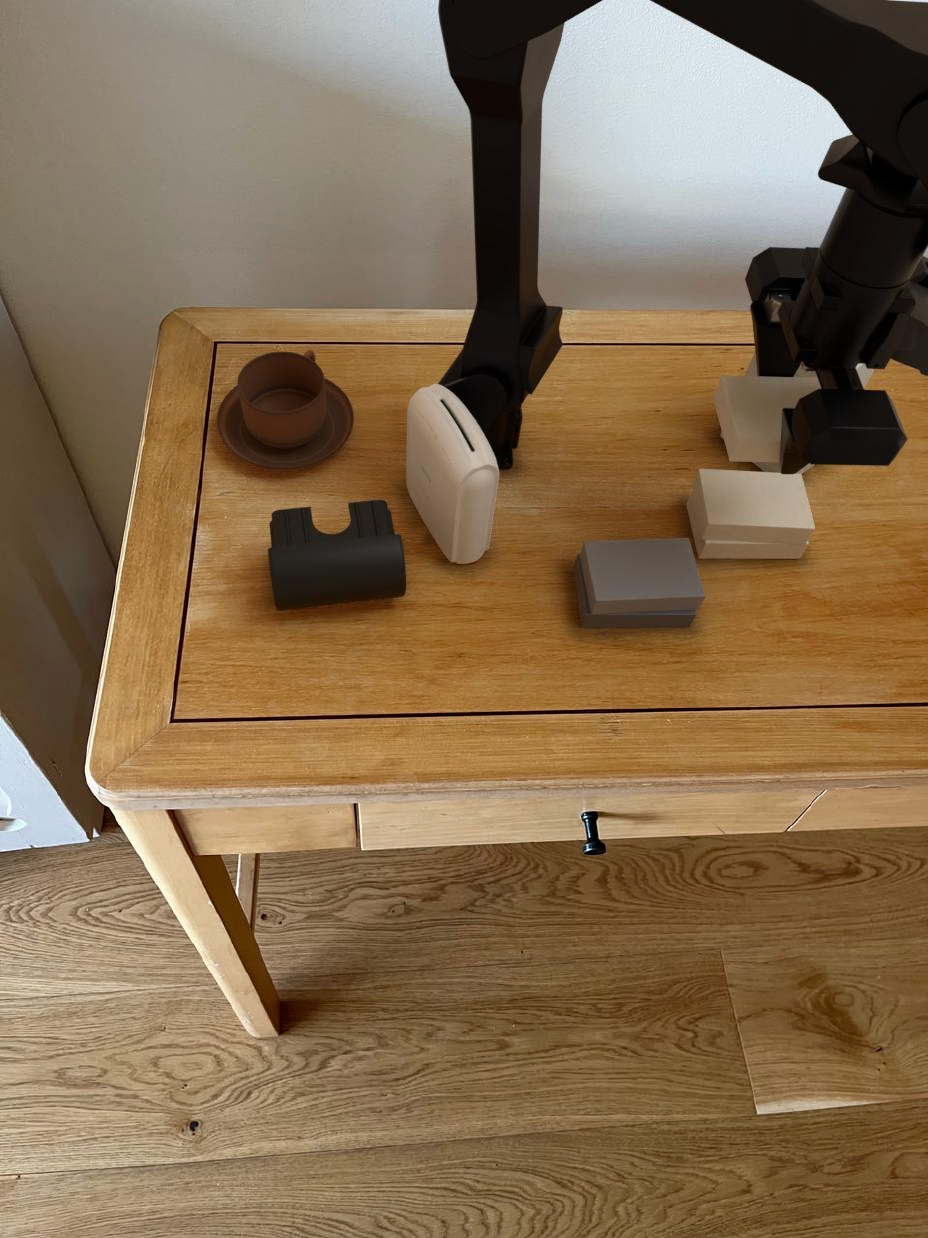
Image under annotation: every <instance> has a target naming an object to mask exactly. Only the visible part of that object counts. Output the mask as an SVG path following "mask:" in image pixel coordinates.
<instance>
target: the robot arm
mask: <svg viewBox="0 0 928 1238" xmlns="http://www.w3.org/2000/svg"><path fill="white" fill-rule="evenodd" d="M602 1H604V0H438V6H437V14H438V20H439V21H438V22H439V27H440V31H441V36H442V42H443V48H444V52H445V53H444V54H445V58H446V63H447V68H448V73H449V76H450V78H451V80H452V81H453V83H454V85H455V87H456V89H457V90H458V92H459V94H460V95H461V98H462V99H463V102H464V103H465V105H466V106H467V109H468V113H469V117H470V143H471V167H472V168H471V170H472V171H471V172H472V197H473V198H472V200H473V201H472V203H473V226H474V229H473V231H474V256H475V283H476V304H475V308H474V312H473V315H472V317H471V321H470V324H469V326H468V329H467V333H466V336H465V339H464V343H463V346H462V349H461V350H460V352H459V353H458V355H457V356H456V357H455V359H454V360H453V362H451V364H450V365H449V367H448V369H447V370H446V372H445V373H444V374H443V375H442V377H441V379H440V380H439V381H438V382H437V384H439V385H442V386H443V387H445V388H447V389H448V390H450V391H451V392H452V393H453V394H454V395H455V396H457V397H458V399H459V400H460V401H461V402H462V403H463V404H464V405H465V407H466V408H467V409H468V411H469V412H470V413H471V415H472V416H473V418H474V419H475V420H476V422H477V424H478V425H479V426H480V428H481V430H482V432H483V433H484V435H485V437H486V439H487V440H488V442H489V444H490V446H491V448H492V451H493V453H494V455H495V457H496V461H497V465H498V469H499V470H510V469H512V468H513V466H514V453H513V450H516V449H517V448H518V447H519V441H520V435H521V431H522V423H523V419H524V416H523V407H522V405H523V404H524V402H525V401H526V399H527V397H528V396H529V395H533V393H534V392H535V391H536V389H537V387H538V385H539V384H540V383H541V381H542V380H543V378H544V376H545V374H546V373H547V371H548V369H549V368H550V366H551V365H552V363H553V362H554V360H555V358H556V357H557V355H558V354H559V352H560V350H561V349H562V347H563V345H564V343H563V341H562V337H561V334H560V325H561V320H562V316H563V314H564V313H563V312H564V309H563V306H560V305H559V306H557V305H548V304H547V303H546V301H545V300H544V298H543V296H542V295H541V293H540V291H539V284H538V283H539V282H538V279H539V272H538V271H539V240H540V239H539V238H540V209H541V208H540V204H541V203H540V202H541V201H540V200H541V169H542V168H541V166H542V165H541V163H542V132H543V131H542V130H543V129H542V126H543V125H542V124H543V102H544V97H545V92H546V89H547V86H548V82H549V79H550V76H551V73H552V70H553V67H554V64H555V61H556V57H557V55H558V52H559V48H560V47H561V42H562V38H563V34H564V28H565V23H566V22H569V21H570V20H571V19H574V18H575V17H577V16H578V15H581V14H582V13H583V12H585V11H587V10H588V9H590V8H592V7H594V6H596V5H597V4H600V2H602ZM649 1H650V2H652V3H654V4H656V5H658V6H659V7H661V8H663V9H665V10H666V11H668V12H671V13H672V14H675V15H676V16H679V17H680V18H681V19H684V20H685V21H687V22H689V23H691V24H693V25H694V26H697V27H698V28H700V29H702V30H704V31H706V32H708V33H710V34H711V35H713V36H715V37H717V38H719V39H721V40H722V41H725V42H727V43H728V44H730V45H732V46H734V47H736V48H737V49H738V50H741V51H743V52H745V53H747V54H748V55H750V56H752V57H754V58H756V59H758V60H760V61H761V62H763V63H765V64H767V65H769V66H771V67H773V68H774V69H776V70H777V71H781V72H782V73H784V74H785V75H788V76H789V77H791V78H793V79H794V80H797V81H798V82H801V84H805V85H806V86H808V87H810V88H811V89H813V90H814V91H815V92H816V93H818V94H819V95H820V96H821V97H822V98H823V99H824V100H826V101H827V102H828V103H829V104H830V106H831V107H832V108H833V110H834V111H835V112H836V114H837V115H838V117H839V118H840V119H841V121H842V122H843V124H844V125H845V126H846V128H847V129H848V130H849V132H850V133H851V134H849V135H845V136H843V137H840V138H837V139H834V140H833V141H832V142H831V143H830V145H829V147H828V149H827V151H826V153H825V155H824V157H823V160H822V162H821V164H820V166H819V168H818V171H817V177H818V178H819V180H821V181H824V182H827V183H831V184H833V185H837V186H840V187H843V188H845V190H844V191H843V194H842V196H841V199H840V201H839V203H838V205H837V207H836V209H835V211H834V214H833V217H832V218H831V221H830V222H829V226H828V228H827V230H826V232H825V235H824V237H823V239H822V241H821V243H820V245H819V246H817V247H815V246H813V247H812V246H806V247H805V248H804V247H780V246H777V247H776V246H769V247H767V248H766V249H764V250H762V251H761V252H759V253H758V254H756V255H755V256H753V257H752V259H751V261H750V264H749V267H748V269H747V272H746V275H745V277H744V282H745V284H746V287H747V291H748V294H749V297H750V300H751V303H750V307H749V311H750V314H751V315H750V316H751V323H752V333H753V339H754V340H753V342H754V353H755V354H756V364H757V376H764V377H794V375H795V373H796V372H797V370H798V368H799V367H800V365H801V366H802V369H803V370H804V371H812V372H814V371H815V372H816V375H817V378H818V381H819V384H820V386H821V389H817V390H815V391H813V392H811V393H810V394H808V395H806V396H804V397H802V398H800V399H799V401H798V403H797V405H796V407H795V408H783V409H782V423H781V443H780V473H781V474H795V473H797V472H798V471H800V470H801V469H802V468H804V467H805V466H807V465H808V464H809V463H810V464H815V465H816V466H817V465H818V466H819V465H820V466H821V465H822V466H823V465H824V466H825V465H826V466H871V467H873V466H875V467H878V466H880V467H882V466H883V467H889V466H890V465H891V464H892V463H893V461H894V460H896V458H897V456H898V455H899V453H901V451H902V449H903V448H904V446H905V444H906V443H907V441H908V440H909V439H908V437H907V434H906V431H905V429H904V427H903V423H902V421H901V418H900V417H899V414H898V412H897V409H896V407H895V404H894V402H893V400H892V399H891V397H890V395H889V394H888V392H887V390H886V389H865V388H863V386H862V383H861V381H860V378H859V375H858V373H857V370H856V367H857V365H858V364H865V365H866V368H867V369H875V370H885V369H886V368H887V366H888V364H889V363H890V360H893V361H895V362H897V363H898V364H899V363H900V364H901V365H905V366H907V367H910V368H912V369H915V370H918V371H919V373H920V375H923V376H925V377H928V257H927V256H924V254H926V251H927V249H928V1H913V0H649ZM815 465H814V466H815Z"/></svg>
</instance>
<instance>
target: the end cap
mask: <svg viewBox="0 0 928 1238" xmlns="http://www.w3.org/2000/svg"><path fill="white" fill-rule="evenodd" d="M347 505H348V513H349V519H350V522H349V524H348V526H347V527H346V528H345V529H343V530H342V531H340V532H337V533H325V532H323V531H321V530H319V529H318V528H317V527H316V526H315V524H314V521H313V520H314V519H313V512H312V506H301V507H293V508H284V509H276V510H274V511H272V513H271V520H270V521H269V532H270V533H269V534H270V544H271V547H268V548H267V557H268V566H269V575H270V580H271V589H272V596H273V600H274V601H273V603H274V605H275V609H276V610H277V611H278V612H285V611H294V610H301V609H302V610H303V609H310V608H319V607H329V606H336V605H337V606H338V605H345V604H353V603H363V602H371V601H379V600H387V599H389V600H390V599H396V598H403V597H405V595H406V593H407V568H406V559H405V550H404V543H403V538H402V534H400V533H396V532H395V531H396V530H395V526H394V521H393V516H392V510H390V509H389V506H388V502H387V501H386V500H385V499H384V500H383V499H373V500H372V499H371V500H361V501H352V502H348V503H347Z"/></svg>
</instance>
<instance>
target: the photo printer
mask: <svg viewBox="0 0 928 1238" xmlns="http://www.w3.org/2000/svg"><path fill="white" fill-rule="evenodd" d="M406 413H407V414H406V417H407V418H406V448H405V449H406V454H405V456H406V457H405V460H406V462H405V483H406V489H407V493H408V495H409V497H410V498H411V501H412V503H413V506H414V507H415V508H416V510H417V512H418V514H419V516H420V518H421V520H422V521H423V524H424V525H425V527H426V528H427V530H428V531H429V533H430V535H431V536H432V538H433V540H434V541H435V542H436V544H437V546H438V547H439V549H440V551H441V552H442V553H443V555H444V556H445V558H446V559H447V560H448V561H449V562H450V563H455V564H458V565H467V564H472V563H474V562H477V561H478V560H480V559H481V558H482V557H483V556H484V555H485V552H486V551H488V550H489V549H490V545H491V540H492V539H491V538H492V530H493V524H494V523H493V522H494V516H495V510H496V509H495V508H496V501H497V494H498V489H499V481H500V469H498V465H497V461H496V457H495V455H494V453H493V451H492V448H491V446H490V444H489V442H488V440H487V439H486V437H485V435H484V433H483V432H482V430H481V428H480V426H479V425H478V424H477V422H476V420H475V419H474V418H473V416H472V415H471V413H470V412H469V411H468V409H467V408H466V407H465V405H464V404H463V403H462V402H461V401H460V400H459V399H458V397H457V396H455V395H454V394H453V393H452V392H451V391H450V390H448V389H447V388H445V387H443V386H442V385H439V384H438V383H433V384H431V385H428V386H422V387H420V388H419V389H418V390H416V391H415V393H414V394H413V395H412V397H411V398H410V400H409V402H408V404H407V411H406Z"/></svg>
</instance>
